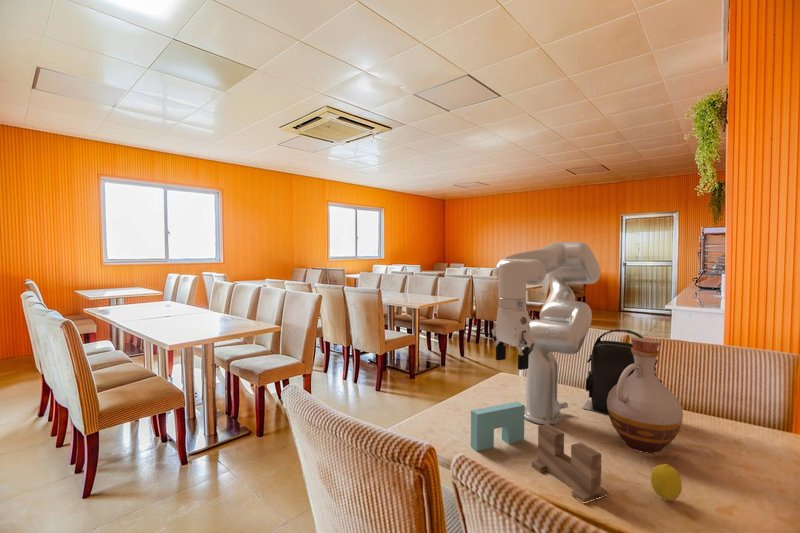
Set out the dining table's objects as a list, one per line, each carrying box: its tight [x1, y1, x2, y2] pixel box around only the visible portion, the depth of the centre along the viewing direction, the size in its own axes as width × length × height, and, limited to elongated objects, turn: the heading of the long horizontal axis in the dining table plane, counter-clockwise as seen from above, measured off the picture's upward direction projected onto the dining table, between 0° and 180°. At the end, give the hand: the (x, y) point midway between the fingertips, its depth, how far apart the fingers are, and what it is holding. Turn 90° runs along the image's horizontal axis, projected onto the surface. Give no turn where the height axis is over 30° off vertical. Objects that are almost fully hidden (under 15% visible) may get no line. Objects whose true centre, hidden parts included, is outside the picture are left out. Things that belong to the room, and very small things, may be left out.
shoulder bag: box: [582, 328, 663, 415], centre depth 131 cm, size 23×9×28 cm, turn 54°
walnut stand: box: [531, 424, 608, 502], centre depth 93 cm, size 7×16×10 cm, turn 23°
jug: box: [607, 336, 684, 454], centre depth 108 cm, size 20×18×30 cm
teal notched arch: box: [470, 401, 526, 452], centre depth 111 cm, size 16×3×10 cm, turn 113°
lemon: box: [650, 463, 683, 501], centre depth 86 cm, size 6×6×8 cm
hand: (511, 364), depth 112 cm, fingers open, 9 cm apart
